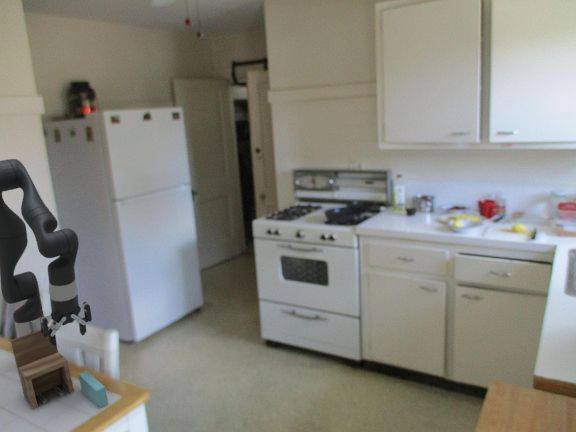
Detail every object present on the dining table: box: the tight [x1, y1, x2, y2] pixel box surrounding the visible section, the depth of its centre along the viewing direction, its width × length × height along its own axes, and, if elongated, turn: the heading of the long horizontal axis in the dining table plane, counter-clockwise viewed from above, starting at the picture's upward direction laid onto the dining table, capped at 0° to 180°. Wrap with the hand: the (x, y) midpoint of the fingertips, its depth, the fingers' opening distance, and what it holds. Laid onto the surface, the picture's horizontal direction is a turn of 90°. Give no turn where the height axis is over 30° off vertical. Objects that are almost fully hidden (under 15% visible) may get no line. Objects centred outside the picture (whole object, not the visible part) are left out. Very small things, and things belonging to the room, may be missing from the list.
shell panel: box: [78, 370, 109, 409], centre depth 149 cm, size 14×2×6 cm, turn 44°
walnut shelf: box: [10, 325, 75, 410], centre depth 152 cm, size 9×12×20 cm
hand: (68, 339), depth 151 cm, fingers open, 8 cm apart
